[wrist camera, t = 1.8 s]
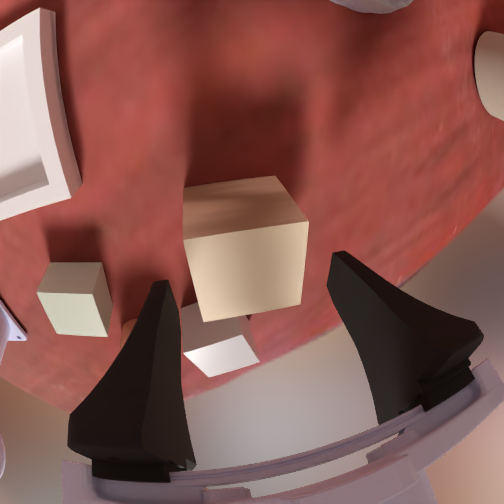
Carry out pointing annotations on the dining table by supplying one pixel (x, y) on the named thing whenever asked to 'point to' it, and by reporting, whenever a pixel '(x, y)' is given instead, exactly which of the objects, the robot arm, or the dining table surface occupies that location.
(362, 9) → the stone block
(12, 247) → the dining table surface
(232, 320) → the grey block
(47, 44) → the white square tray
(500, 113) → the travel mug
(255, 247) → the beech cube
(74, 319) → the sage block
